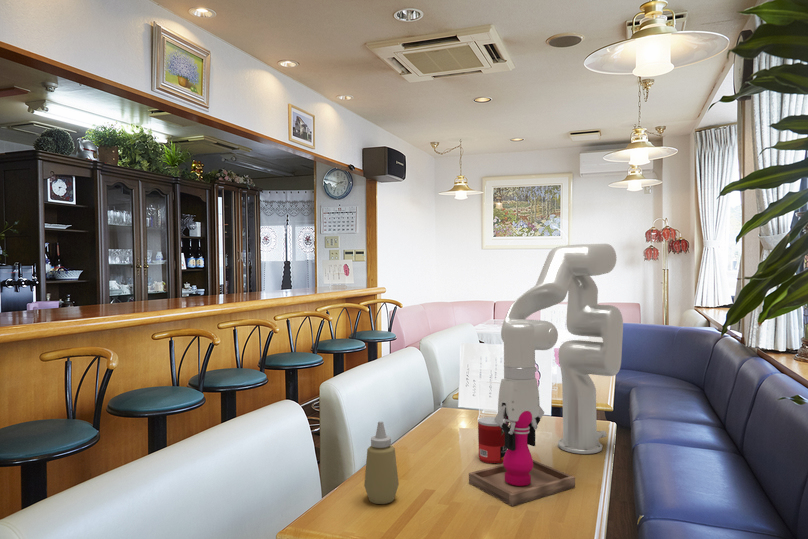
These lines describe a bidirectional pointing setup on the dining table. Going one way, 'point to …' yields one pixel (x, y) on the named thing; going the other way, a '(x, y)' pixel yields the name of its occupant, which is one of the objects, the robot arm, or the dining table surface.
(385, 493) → the squeeze bottle
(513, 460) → the pepper mill
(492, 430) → the canned food
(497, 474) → the walnut tray
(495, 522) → the dining table surface
